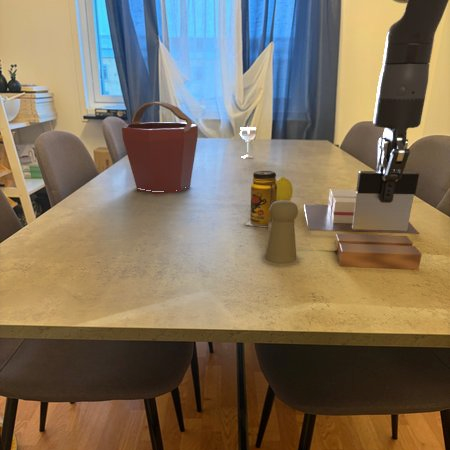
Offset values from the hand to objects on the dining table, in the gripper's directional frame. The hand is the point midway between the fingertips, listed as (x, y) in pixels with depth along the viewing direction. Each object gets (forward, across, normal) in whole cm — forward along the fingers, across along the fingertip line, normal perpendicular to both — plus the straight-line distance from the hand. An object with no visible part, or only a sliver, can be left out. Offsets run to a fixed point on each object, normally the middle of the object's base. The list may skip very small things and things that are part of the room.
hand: (384, 199), depth 79 cm
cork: (+11, -2, +18) cm, 22 cm away
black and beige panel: (+6, 0, 0) cm, 6 cm away
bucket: (+11, +54, +56) cm, 79 cm away
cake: (+10, +28, 0) cm, 30 cm away
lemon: (+12, +36, +18) cm, 42 cm away
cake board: (+11, +24, 0) cm, 27 cm away
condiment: (+11, +21, +22) cm, 33 cm away
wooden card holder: (+11, 0, 0) cm, 11 cm away
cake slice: (+10, +21, 0) cm, 23 cm away
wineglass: (+12, +117, +33) cm, 122 cm away
